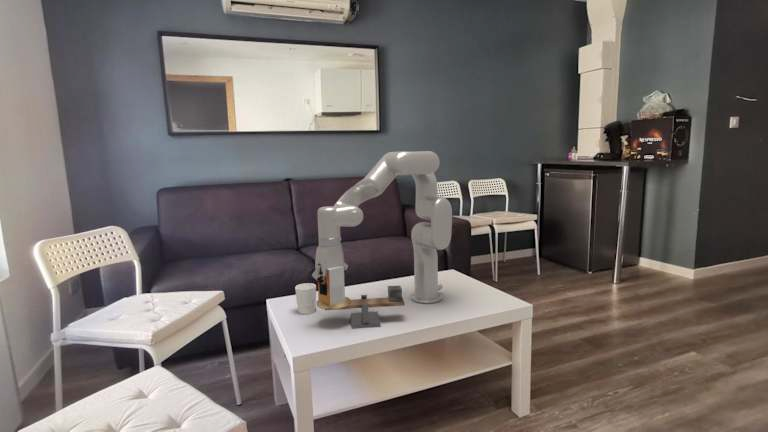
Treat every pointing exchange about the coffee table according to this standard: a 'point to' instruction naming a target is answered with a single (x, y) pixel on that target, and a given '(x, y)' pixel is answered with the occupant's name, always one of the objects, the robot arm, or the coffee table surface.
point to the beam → (369, 301)
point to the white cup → (306, 298)
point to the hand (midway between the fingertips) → (331, 291)
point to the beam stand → (365, 317)
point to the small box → (334, 286)
